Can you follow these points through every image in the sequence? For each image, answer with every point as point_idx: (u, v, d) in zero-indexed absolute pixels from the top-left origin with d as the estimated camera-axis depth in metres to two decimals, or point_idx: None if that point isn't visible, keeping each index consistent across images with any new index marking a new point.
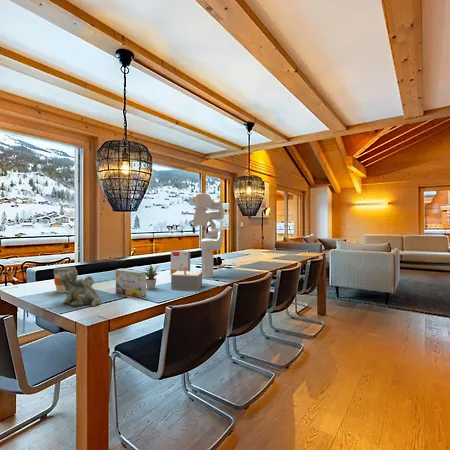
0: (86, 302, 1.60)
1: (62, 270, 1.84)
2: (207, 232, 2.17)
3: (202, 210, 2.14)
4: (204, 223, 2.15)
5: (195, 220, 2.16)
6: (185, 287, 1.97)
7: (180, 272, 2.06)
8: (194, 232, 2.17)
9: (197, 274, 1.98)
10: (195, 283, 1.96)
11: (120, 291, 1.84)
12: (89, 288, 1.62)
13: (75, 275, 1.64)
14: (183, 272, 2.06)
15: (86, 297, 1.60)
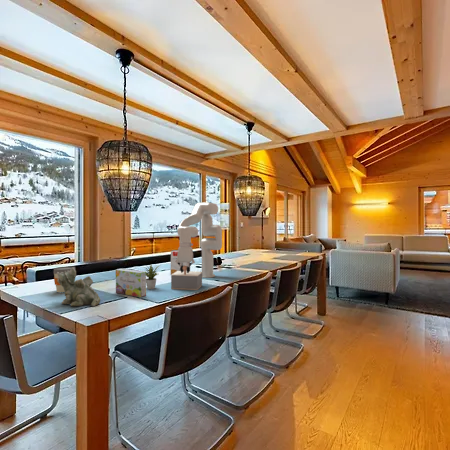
0: (86, 302, 1.59)
1: (62, 270, 1.84)
2: (188, 271, 1.99)
3: (186, 246, 1.95)
4: (189, 260, 1.96)
5: (179, 257, 1.97)
6: (185, 287, 1.97)
7: (180, 272, 2.06)
8: (182, 271, 1.98)
9: (197, 274, 1.98)
10: (195, 283, 1.96)
11: (120, 291, 1.84)
12: (88, 288, 1.62)
13: (74, 275, 1.63)
14: (183, 272, 2.06)
15: (86, 297, 1.59)
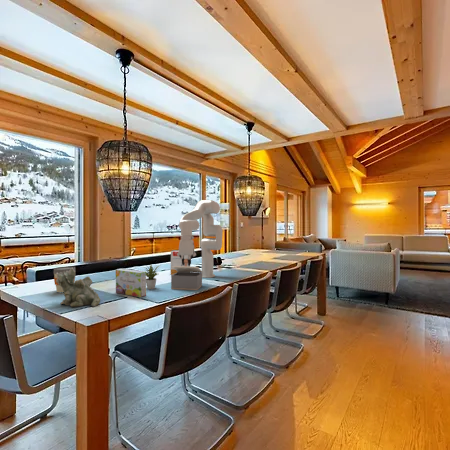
0: (86, 303, 1.59)
1: (62, 270, 1.84)
2: (189, 264, 2.02)
3: (188, 239, 1.98)
4: (190, 253, 1.99)
5: (180, 249, 2.00)
6: (185, 287, 1.97)
7: None
8: (183, 264, 2.01)
9: None
10: (195, 283, 1.96)
11: (120, 291, 1.84)
12: (88, 288, 1.61)
13: (73, 276, 1.62)
14: None
15: (85, 297, 1.59)
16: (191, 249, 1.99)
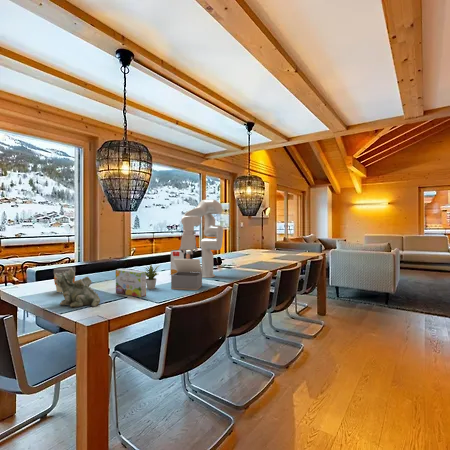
0: (86, 303, 1.58)
1: (62, 270, 1.84)
2: (191, 258, 2.06)
3: (190, 234, 2.03)
4: (192, 248, 2.04)
5: (182, 244, 2.05)
6: (185, 287, 1.97)
7: None
8: (185, 258, 2.06)
9: None
10: (195, 283, 1.96)
11: (120, 291, 1.84)
12: (88, 289, 1.61)
13: (72, 276, 1.61)
14: None
15: (85, 297, 1.58)
16: (193, 244, 2.04)
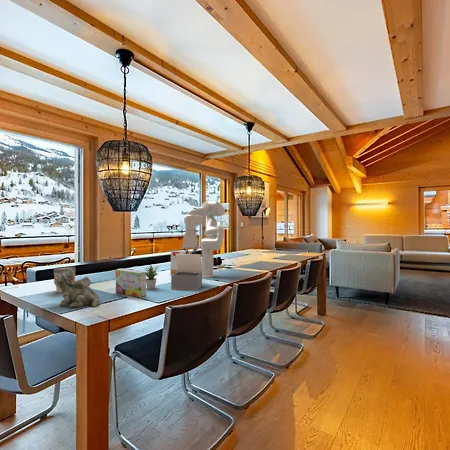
0: (85, 303, 1.58)
1: (62, 270, 1.84)
2: None
3: (192, 232, 2.08)
4: (194, 246, 2.09)
5: (185, 242, 2.10)
6: (185, 287, 1.97)
7: None
8: None
9: None
10: (195, 283, 1.96)
11: (120, 291, 1.84)
12: (88, 289, 1.61)
13: (72, 276, 1.61)
14: None
15: (85, 298, 1.58)
16: (195, 242, 2.09)
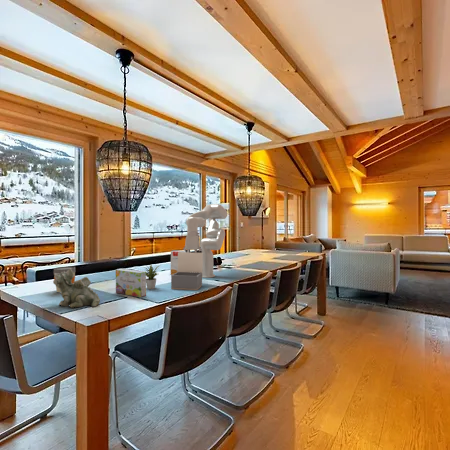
0: (85, 303, 1.58)
1: (62, 270, 1.84)
2: None
3: (194, 235, 2.13)
4: (196, 248, 2.14)
5: (187, 244, 2.15)
6: (185, 287, 1.97)
7: None
8: None
9: None
10: (195, 283, 1.96)
11: (120, 291, 1.84)
12: (87, 289, 1.60)
13: (71, 276, 1.60)
14: None
15: (85, 298, 1.58)
16: (197, 244, 2.14)
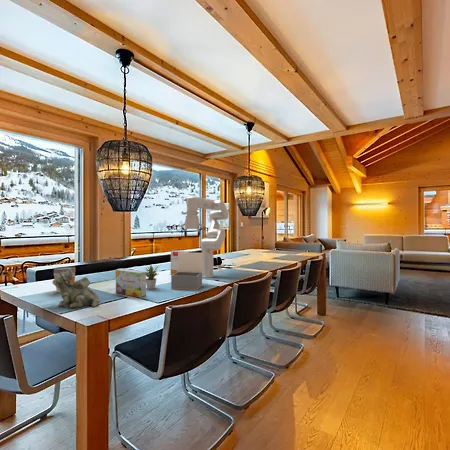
0: (85, 303, 1.58)
1: (62, 270, 1.84)
2: (199, 235, 2.19)
3: (193, 214, 2.15)
4: (195, 227, 2.17)
5: (187, 224, 2.17)
6: (185, 287, 1.97)
7: None
8: (186, 235, 2.20)
9: None
10: (195, 283, 1.96)
11: (120, 291, 1.84)
12: (87, 289, 1.60)
13: (71, 276, 1.60)
14: None
15: (85, 298, 1.57)
16: (196, 223, 2.16)
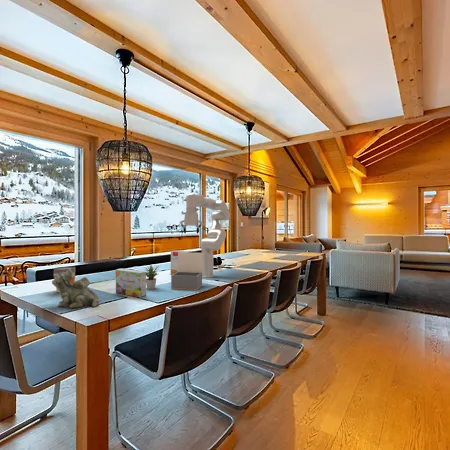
0: (85, 303, 1.57)
1: (62, 270, 1.84)
2: None
3: (192, 211, 2.18)
4: (194, 223, 2.19)
5: (186, 220, 2.19)
6: (185, 287, 1.97)
7: None
8: (185, 232, 2.22)
9: None
10: (195, 283, 1.96)
11: (120, 291, 1.84)
12: (87, 289, 1.60)
13: (70, 277, 1.59)
14: None
15: (85, 298, 1.57)
16: (195, 220, 2.18)
